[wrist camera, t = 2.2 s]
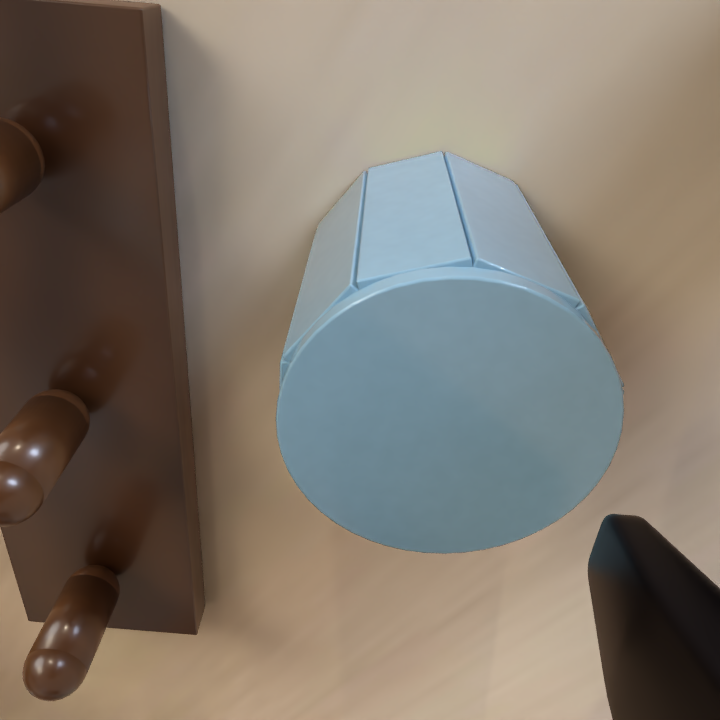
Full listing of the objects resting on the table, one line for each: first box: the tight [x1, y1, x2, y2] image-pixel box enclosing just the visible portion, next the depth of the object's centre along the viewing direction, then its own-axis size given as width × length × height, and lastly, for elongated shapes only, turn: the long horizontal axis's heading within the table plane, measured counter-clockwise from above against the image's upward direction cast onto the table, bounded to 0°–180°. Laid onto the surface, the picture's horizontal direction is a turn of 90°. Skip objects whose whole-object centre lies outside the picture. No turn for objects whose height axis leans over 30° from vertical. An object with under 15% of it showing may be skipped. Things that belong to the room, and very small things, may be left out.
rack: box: [0, 0, 205, 701], centre depth 19 cm, size 7×23×6 cm, turn 176°
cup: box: [276, 151, 624, 554], centre depth 16 cm, size 7×7×8 cm
